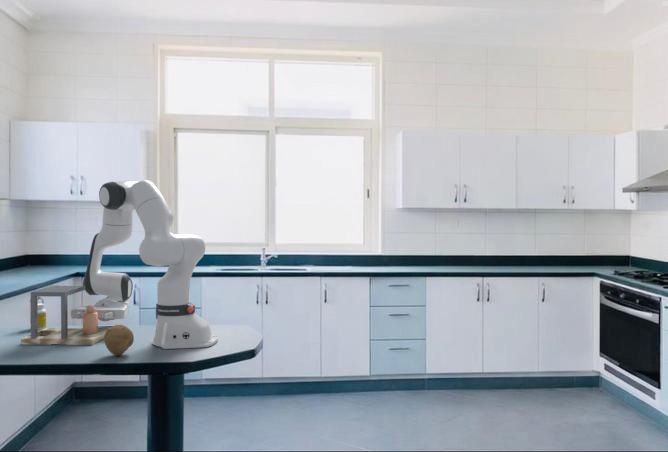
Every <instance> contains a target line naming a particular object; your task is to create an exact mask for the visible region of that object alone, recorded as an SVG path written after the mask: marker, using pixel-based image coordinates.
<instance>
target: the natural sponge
mask: <svg viewBox="0 0 668 452" xmlns="http://www.w3.org/2000/svg"><path fill="white" fill-rule="evenodd" d="M107 329H108V330H107V331H106V333H105V335H104V339H103V341H104V344H105V347H106V349H107V351H109V352H110V354H112V355H113V356H116V357H118V356H122V355H123V354H124V353H126V352H127V350H129V348H130V347H132V345H133V343H134V341H135V339H134V334H133V331H132V330H131V329H130V328H129V327H128V326H125V325H123V324H115V325H113V326H111V327H109V328H107Z"/></svg>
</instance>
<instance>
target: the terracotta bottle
mask: <svg viewBox="0 0 668 452" xmlns="http://www.w3.org/2000/svg"><path fill="white" fill-rule="evenodd" d="M86 306H87V312H84V313H83V318H82V328H83V334H85V335H91V334H96V333H98V329H99V319H98V312H96V311H94V306H95V305H94V304H93V305H92V304H89V305H86Z"/></svg>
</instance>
